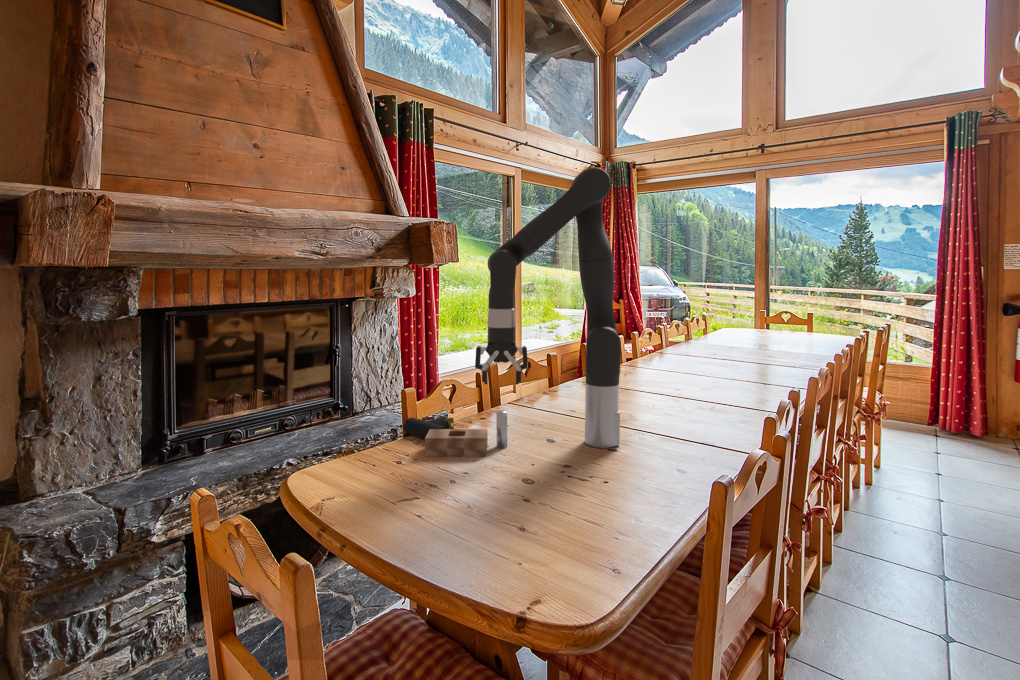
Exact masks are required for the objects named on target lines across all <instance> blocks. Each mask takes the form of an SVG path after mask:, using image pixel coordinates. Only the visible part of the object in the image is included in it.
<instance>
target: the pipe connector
mask: <svg viewBox="0 0 1020 680" xmlns="http://www.w3.org/2000/svg"><path fill="white" fill-rule="evenodd" d="M452 423H454V417H448V416H447V415H441V416H439V417H436V418H434V419H431V420H427V421H426V420H422V419H418V418H415V417H408V418H407V419H406V420H405V421H404V424H403V430H404V433H405V434H407V435H410V436H414V437H416V438H420V439H424V440H425V437H426V435H427V433H428V432H429V430H430V429H455V427H454V425H452Z"/></svg>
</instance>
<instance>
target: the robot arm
mask: <svg viewBox="0 0 1020 680" xmlns="http://www.w3.org/2000/svg"><path fill="white" fill-rule="evenodd" d="M611 184H612V181H611V178H610V175H609V173H608V172H607V171H606V170H604V168H601V167H589V168H586V169H584V170H582V171H581V172H580V173H579V174H578V175H576V177H575V178H574V179H573V180H572V183H571V186H570V188H569V189H568V190H566V192H565V193H564V194H563V195H561V197H560V198H559V199H557V201H555V202H554V203H553V204H551V205H550V206H549V207H547V208H546V209H544V210H543V211H542V212H541V213H539V214H538V215H537V216H535V217H534V218H533V219H532V220H530V221H529V222H528V223H527V224H526V225H524V226H523V227H522V228H521V229H519V231H517V232H516V234H515V235H514V236H512V238H510V239H509V240H508V241H507V242H505V243H504V244H503V245H501V246H500V247H498V248H497V249H496V250H495V251H493V252H492V254H490V255H489V257H488V259H487V268H488V271H489V274H490V275H489V276H490V277H489V280H490V283H489V286H490V287H489V290H488V312H487V320H486V321H487V322H486V325H487V345H486V346H481V345H477V346H476V348H475V363H474V367H475V369H476V370H477V369H478V370H480V371H481V381H482V383H484V386H485V385H488V379H489V378H488V368H489V367H490V366H491V364H492V363H493V362H494V363H496V364H498V363H505V364H507V363H509V362H510V363H511V365H512V366H513V367H514V368H515V385H519V383H521V381H522V371H523V370H526V369H528V368H529V366H528V364H529V363H528V349H527V346H526V345H523V346H517V345H516V324H517V323H516V322H517V321H516V311H515V310H516V309H515V303H516V302H515V301H516V298H515V286H516V279H517V266H518V265H520V263H522V262H523V261H524V260H525V259H526V258H529V257H530V256H532V255H534V254H535V253H536V252H537V251H539V249H540V248H542V247H543V246H544V245H545V244H546V243H548V242H549V241H550V240H551V239H552V238H553V237H554V236H555V235H557V233H558V232H560V231H561V230H562V229H563V228H564V227H565V226H566V225H567V224H568V223H570V221H572V220H573V219H574V218H575V219H576V227H577V229H576V230H577V251H578V252H577V253H578V265H579V268H578V269H579V277H580V284H581V289H582V294H583V297H584V298H583V299H584V301H585V307H586V337H585V339H586V343H585V391H584V392H585V397H584V398H585V399H584V400H585V403H584V405H585V406H584V408H585V410H584V443H585V445H587V446H590V447H593V448H601V449H602V448H603V449H604V448H605V449H606V448H607V449H608V448H613V447H619V446H620V435H621V433H620V429H621V428H620V427H621V426H620V425H621V412H620V410H619V403H620V401H619V400H620V399H619V395H620V391H619V390H620V376H621V356H622V355H621V354H622V353H621V351H622V348H621V347H622V346H621V345H622V344H621V343H622V342H621V339H620V336H619V334H618V330H617V326H616V319H615V315H614V291H615V268H614V266H615V265H614V256H613V251H612V246H611V243H610V240H609V237H608V235H607V233H606V232H607V231H606V229H605V226H604V219H603V200H604V199H606V197H607V196H608V195H609V192H610V190H611ZM485 352H486V353H487V355H488V356H489V357H488V358H487V360H486V361H485V362H484V364H482V363H481V358H482V357H481V356H482V355H484V353H485ZM517 352H519V355H520V356H522V364H520V363H519V362H518V360H517V359H516V358H515V355H516V354H517Z"/></svg>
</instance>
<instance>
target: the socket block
mask: <svg viewBox="0 0 1020 680" xmlns="http://www.w3.org/2000/svg"><path fill="white" fill-rule="evenodd" d="M488 440H489V438H488V428H454V429H430V430H429V432H428V433H427V435H426V437H425V439H424V443H425V444H424V452H425V454H424V455H425V457H428V458H429V457H431V458H433V457H439V458H440V457H444V458H445V457H451V458H453V457H454V458H455V457H458V458H459V457H466V458H467V457H487V453H488V442H489V441H488Z"/></svg>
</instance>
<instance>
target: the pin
mask: <svg viewBox="0 0 1020 680" xmlns="http://www.w3.org/2000/svg"><path fill="white" fill-rule="evenodd" d="M495 412H496V416H495V419H496V422H495V423H496V425H495V426H496V430H495V431H496V448H497V449H508V411H507V410H504V409H501V410H496V411H495Z"/></svg>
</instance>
